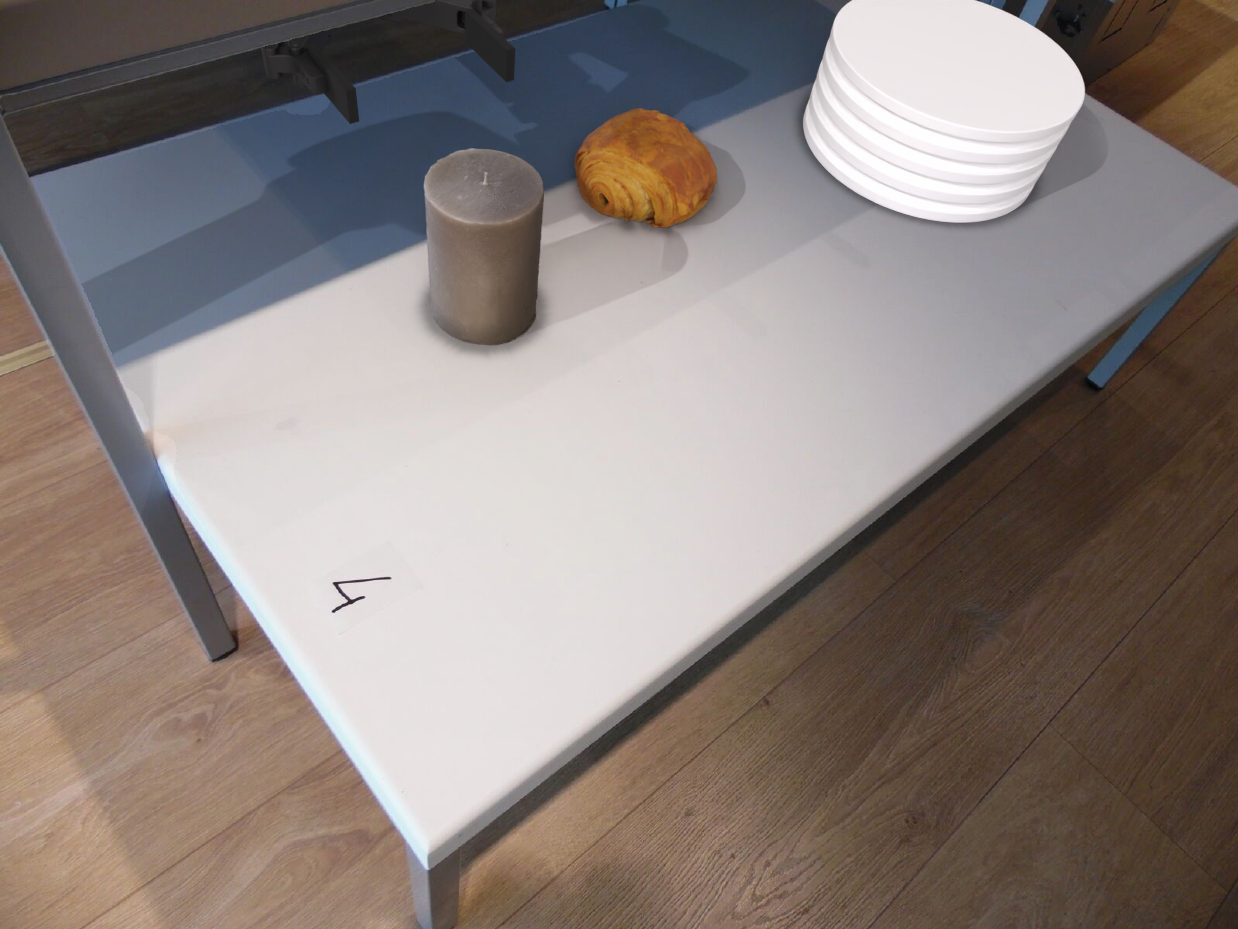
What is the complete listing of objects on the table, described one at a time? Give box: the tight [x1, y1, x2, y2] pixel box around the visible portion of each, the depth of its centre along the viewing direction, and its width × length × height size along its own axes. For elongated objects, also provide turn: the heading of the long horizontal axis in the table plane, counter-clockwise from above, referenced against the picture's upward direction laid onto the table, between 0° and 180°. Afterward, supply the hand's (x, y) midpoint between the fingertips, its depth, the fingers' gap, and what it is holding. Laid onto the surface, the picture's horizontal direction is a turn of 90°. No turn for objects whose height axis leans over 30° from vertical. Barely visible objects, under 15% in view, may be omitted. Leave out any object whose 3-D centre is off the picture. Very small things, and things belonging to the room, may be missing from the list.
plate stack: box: [802, 0, 1086, 224], centre depth 104 cm, size 28×28×12 cm
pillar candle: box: [423, 147, 545, 346], centre depth 78 cm, size 10×10×15 cm
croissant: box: [573, 107, 718, 229], centre depth 95 cm, size 14×16×8 cm
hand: (435, 85), depth 70 cm, fingers open, 13 cm apart
